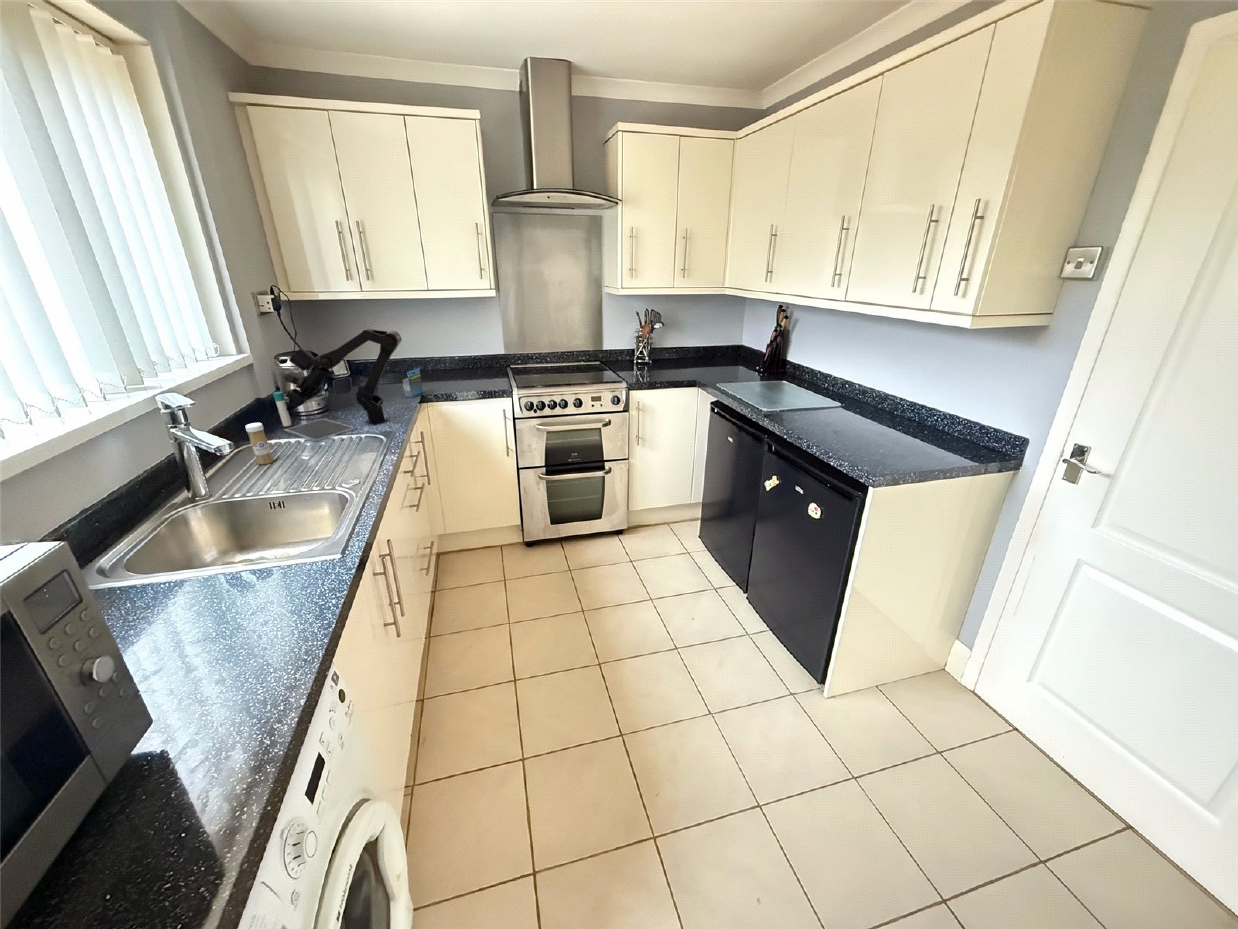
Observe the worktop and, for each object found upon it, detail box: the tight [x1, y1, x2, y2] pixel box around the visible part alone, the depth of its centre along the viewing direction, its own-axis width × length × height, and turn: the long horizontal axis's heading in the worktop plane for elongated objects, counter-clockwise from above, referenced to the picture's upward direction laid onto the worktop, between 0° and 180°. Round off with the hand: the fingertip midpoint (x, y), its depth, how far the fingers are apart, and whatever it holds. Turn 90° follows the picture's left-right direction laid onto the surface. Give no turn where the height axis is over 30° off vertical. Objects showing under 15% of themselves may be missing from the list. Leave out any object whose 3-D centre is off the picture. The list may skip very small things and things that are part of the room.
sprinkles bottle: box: [245, 422, 274, 465], centre depth 162 cm, size 5×5×13 cm
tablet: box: [283, 418, 357, 443], centre depth 193 cm, size 22×16×1 cm
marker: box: [272, 391, 293, 429], centre depth 195 cm, size 3×3×14 cm
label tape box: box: [402, 367, 424, 398], centre depth 236 cm, size 9×4×12 cm, turn 164°
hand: (292, 407), depth 195 cm, fingers open, 9 cm apart
